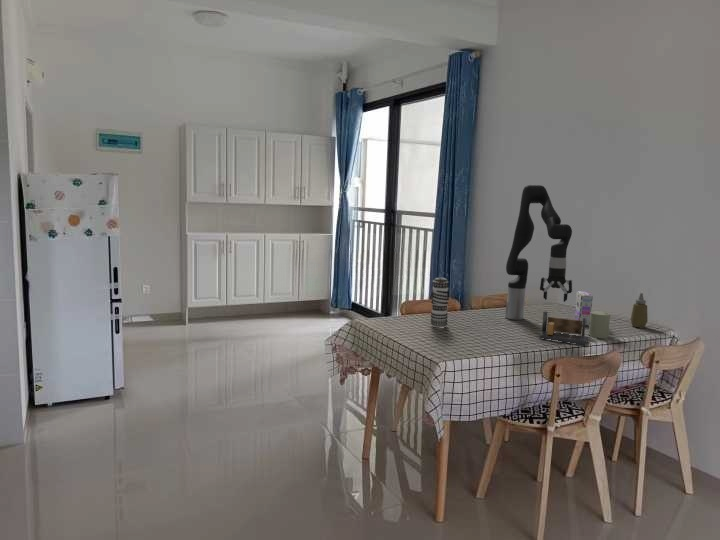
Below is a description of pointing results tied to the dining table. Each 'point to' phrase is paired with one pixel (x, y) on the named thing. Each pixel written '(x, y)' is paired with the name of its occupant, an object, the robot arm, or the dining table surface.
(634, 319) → the squeeze bottle
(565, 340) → the console
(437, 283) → the decorative candle
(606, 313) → the can
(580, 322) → the door
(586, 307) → the candy box
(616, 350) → the dining table surface
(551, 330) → the fader
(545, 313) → the frame
